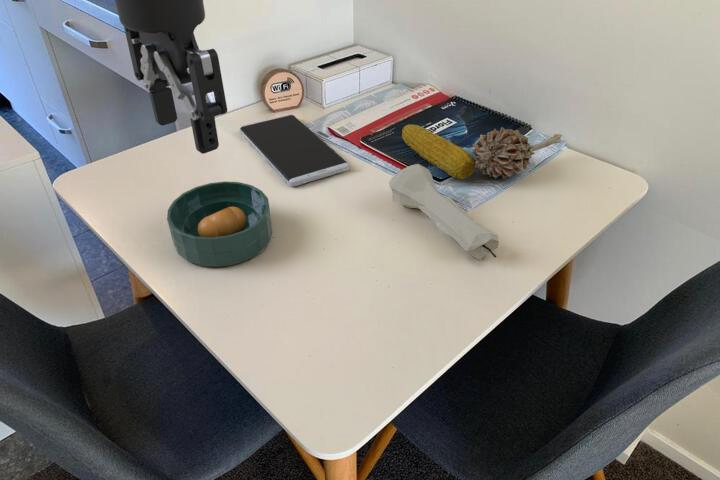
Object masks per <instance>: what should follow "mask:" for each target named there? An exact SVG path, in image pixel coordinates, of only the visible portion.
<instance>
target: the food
mask: <svg viewBox="0 0 720 480" xmlns="http://www.w3.org/2000/svg"><path fill="white" fill-rule="evenodd" d="M401 138H402V140H403V141H404V143H405V144H406V145H407V146H408V147H409V146H410V147H409V148H410V149H411V150H412V151H414V150H415V151H416V152H415V151H414V152H415V153H416V154H418V153H419V154H418V155H419V157H421V158H423V159H424V160H426V161H427V162H428V163H430V164H431V165H433V166H434V167H436V166H437V167H436V168H437V169H439V168H441V169H440V170H441V171H443V170H444V171H443V172H445V173H446V172H447V173H446V174H447V175H449V176H450V177H453V178H455V179H457V180H464V179H467V178H469V177H471V175H472V174H473V173H475V169H476V167H475V163H476V162H474V156H472V154H471V153H470V152H469V151H467V150H465V149H464V148H463V147H460V146H459V145H456V144H455V143H453V142H451V141H449V140H447V139H445V138H444V137H442V136H440V135H438V134H436V133H435V132H432V131H431V130H429V129H427V128H426V127H423V126H420V125H417V124H409V123H408V124H407V125H405V126H404V127H403V128H402V129H401ZM434 164H435V165H436V166H435V165H434Z"/></svg>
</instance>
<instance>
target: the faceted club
mask: <svg viewBox="0 0 720 480" xmlns="http://www.w3.org/2000/svg"><path fill="white" fill-rule="evenodd" d="M388 186H389V188H390V190H391V193H392V195H391V196H392V202H394V203H396V204H399V205H401V206H404V207H406V208H408V209H420V211H422V213H424V214H425V215H426V216H427V217H429V219H431V220H432V221H433V222H434V223H435V225H436V227H437V229H438V230H440V231H442V232H443V233H445V234H446V235H448V236H449V237H451V238H453V240H455V242H457V243H458V244H459V245H460V246H461V248H462V249H463V250H464V251H465V252H466V253H467V254H469V255H470V256H471V257H472V258H473V259H475V260H476V261H481V260H482V259H483V258H484V257H485V256H486V255H487V254H489V253H490V254H491V256H493V258H494V259H496V258H497V255H496V254H495V253H494V252H493V251H494V250H497V249H499V243H500V242H499V241H500V239H499V235H498V234H496V233H494V232H492V231H491V230H490V229H488V228H486V227H485V226H483V225H481V224H480V223H478V222H477V221H476V220H474V219H473V218H472V217H471V216H470V215H468V213H466V212H465V210H463V209H462V208H461V207H460V206H459V205H458V204H457V203H456V202H455V201H454V200H453V199H452V197H451V196H448V195H444V194H442V193H441V192H439V191H438V189H437V188H436V185H435V182H434V178H433V174H432V173H431V171H430V170H429V169H428V168H427V167H425V166H423V165H422V164H420V163H415V164H411V165H409V166H406V167H405V168H403V169H400V170H399V171H398V172H397V173H395V175H393V176H392V177H391V179H390V180H389V181H388Z"/></svg>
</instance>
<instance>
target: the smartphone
mask: <svg viewBox="0 0 720 480" xmlns="http://www.w3.org/2000/svg"><path fill="white" fill-rule="evenodd" d="M239 132H240V133H241V135H243V137H245V139H246V140H247V141H248V142H249V143H250V144H251V145H252V146H253V147H254V148H255V150H256V151H257V152H258V153H259V154H260V155H261V156H262V157H263V158H264V159H265V161H266V162H267V163H268V164H269V165H270V166H271V167H272V168H273V170H275V171H276V172H277V173H278V175H279V176H280V177H281V178H282V179H283V180H284V181H285V182H286V183H287V185H288V186H290V187H297V186H301V185H304V184H308V183H310V182H314V181H317V180H320V179H324V178H327V177H331V176H333V175H337V174H340V173H343V172H347V171H349V170H350V163H349V162H348V161H347V160H346V159H344V158H343V157H342V156H341V155H340V154H338V153H337V152H336V151H335V150H334V149H333V148H332V147H331V146H329V144H327V143H326V142H325V141H323V139H322V138H320V136H318V135H317V134H316V133H315V132H313V130H311V129H310V128H309V127H308V126H306V124H304V123H303V121H301V120H299V119H298V118H297V117H296V116H295V115H294V114H292V113H291V114H286V115H281V116H276V117H272V118H268V119H264V120H259V121H256V122H252V123H248V124H247V123H246V124H243V125H240V127H239Z"/></svg>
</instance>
